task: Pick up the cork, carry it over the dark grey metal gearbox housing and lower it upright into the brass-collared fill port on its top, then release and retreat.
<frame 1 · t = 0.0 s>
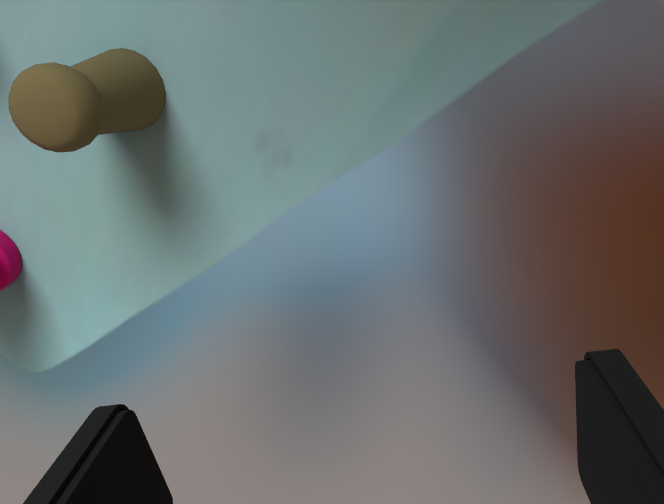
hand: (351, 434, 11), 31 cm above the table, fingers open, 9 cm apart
cork: (128, 90, 40), on the table
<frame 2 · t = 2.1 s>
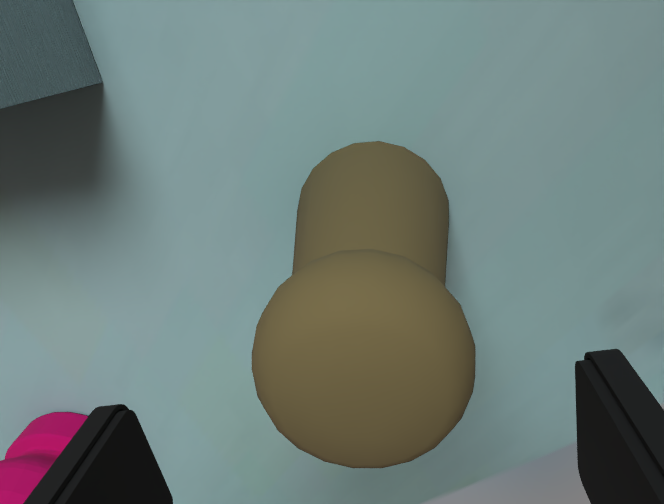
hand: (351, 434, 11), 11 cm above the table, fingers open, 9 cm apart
pepper mill: (82, 451, 28), on the table
cork: (372, 214, 21), on the table
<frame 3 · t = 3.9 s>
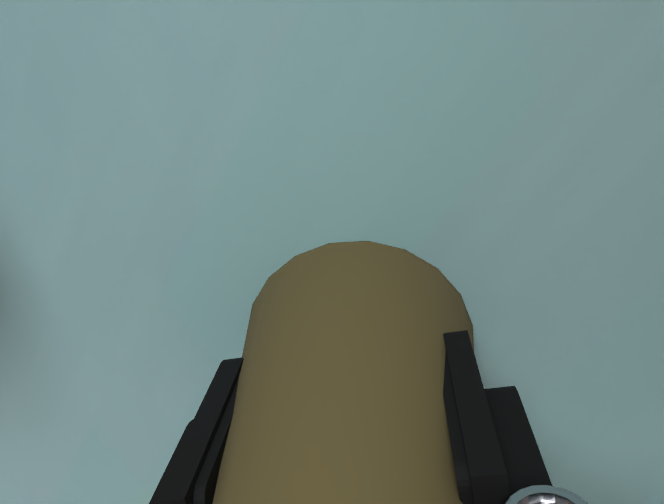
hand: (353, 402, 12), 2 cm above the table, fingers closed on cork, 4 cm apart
cork: (358, 340, 14), on the table, touching gripper
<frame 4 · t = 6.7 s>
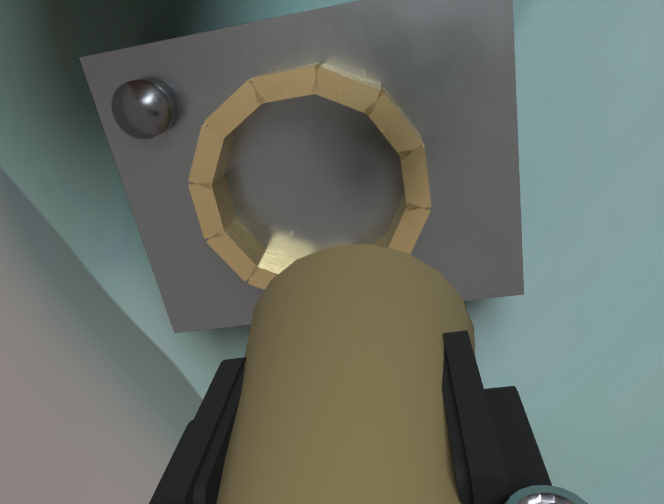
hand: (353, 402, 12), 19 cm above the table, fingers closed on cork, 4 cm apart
cork: (360, 342, 14), point 17 cm above the table, touching gripper
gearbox: (326, 152, 29), on the table
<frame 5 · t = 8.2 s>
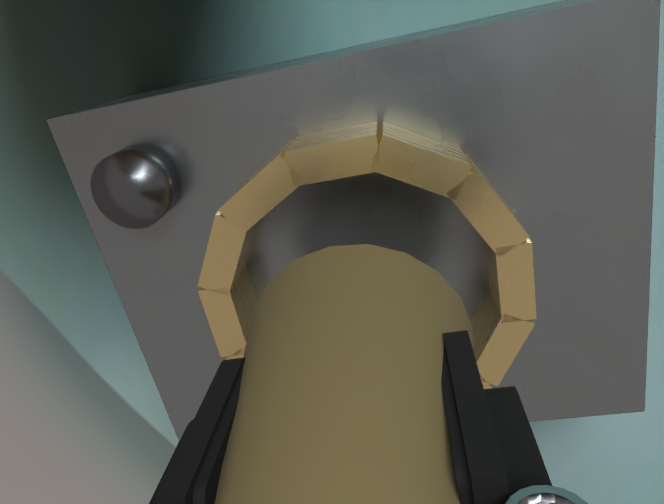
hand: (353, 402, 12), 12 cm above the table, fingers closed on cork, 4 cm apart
cork: (359, 342, 14), point 10 cm above the table, touching gripper
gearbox: (370, 215, 23), on the table
when the fingers open (10 cm above the table, at t = 9.4 s): cork drops 1 cm, resting on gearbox.
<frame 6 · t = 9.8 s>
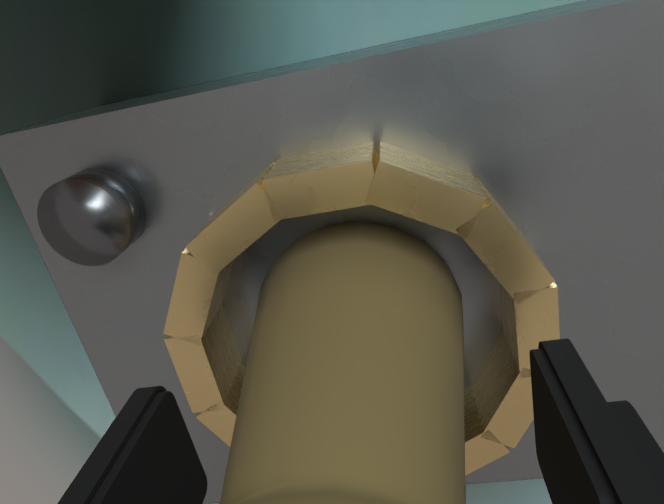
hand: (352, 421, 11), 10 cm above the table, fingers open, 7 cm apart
cork: (359, 313, 15), point 6 cm above the table, touching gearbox
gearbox: (366, 238, 21), on the table
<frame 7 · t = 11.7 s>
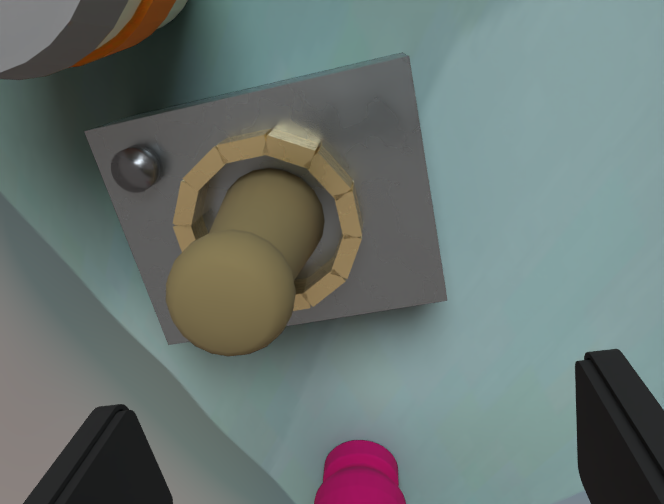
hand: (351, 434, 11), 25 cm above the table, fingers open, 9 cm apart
pepper mill: (361, 465, 44), on the table
cork: (272, 218, 30), point 6 cm above the table, touching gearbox
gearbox: (288, 190, 35), on the table
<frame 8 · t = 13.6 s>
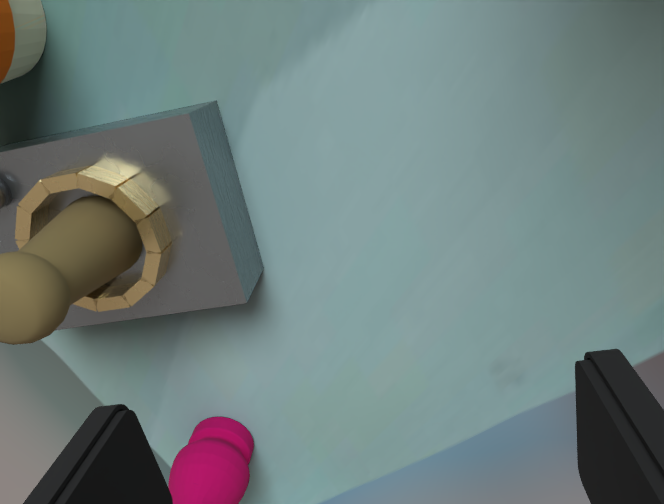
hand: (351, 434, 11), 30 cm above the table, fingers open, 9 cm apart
pepper mill: (224, 438, 52), on the table
cork: (102, 235, 37), point 6 cm above the table, touching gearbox
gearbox: (138, 208, 42), on the table
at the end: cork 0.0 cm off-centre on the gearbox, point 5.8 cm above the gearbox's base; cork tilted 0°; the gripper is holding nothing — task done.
